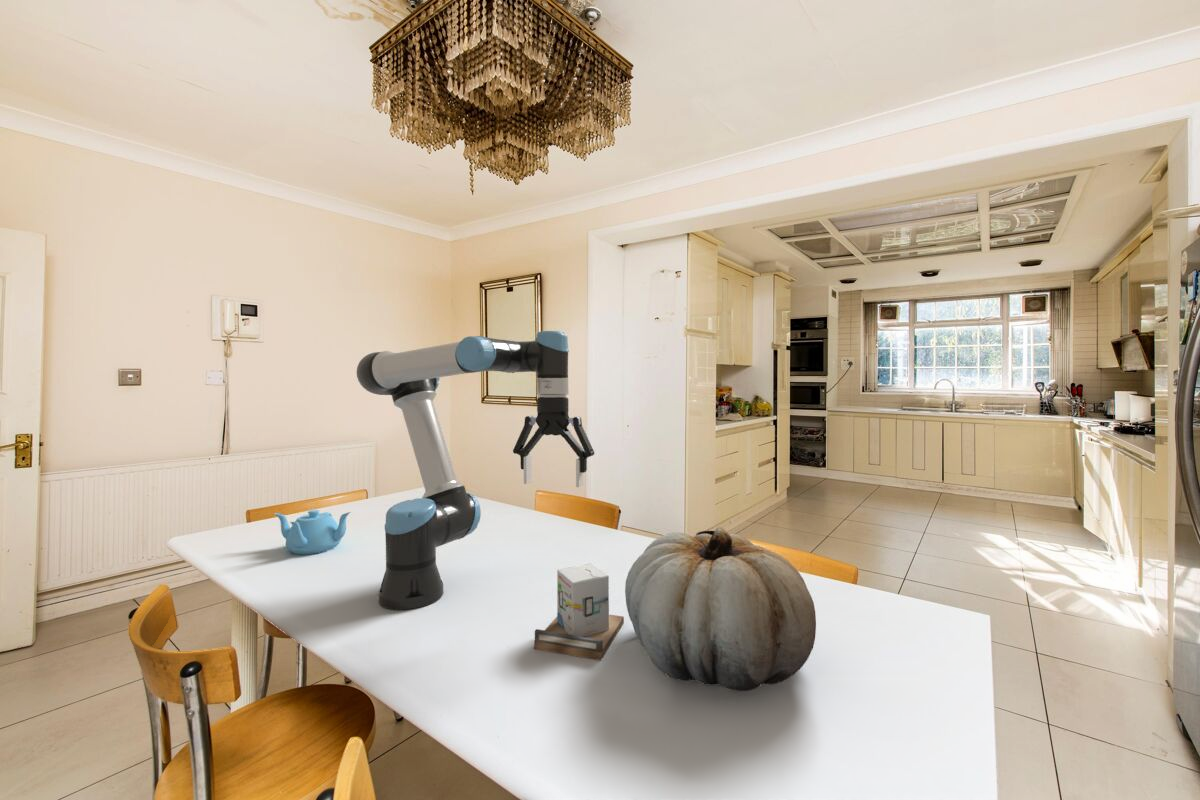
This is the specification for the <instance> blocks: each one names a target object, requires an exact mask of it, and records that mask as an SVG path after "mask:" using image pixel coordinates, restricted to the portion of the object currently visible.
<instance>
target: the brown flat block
mask: <svg viewBox="0 0 1200 800" xmlns="http://www.w3.org/2000/svg"><path fill="white" fill-rule="evenodd" d="M624 619H625V616H623V615H615V614H610V613H609V630H607V631H603V632H599V633H595V634H591V635H587V636H583V637H581V636H575V635H569V634H568V633H567V632H566V631H565V629H564V628H563V627H562V626H561V625H560V624H559V623H558V622H557V616H556V617H555V618H554V619H553V620H552V621H551V623H550V624H549V625H547V627H545V629H540V628H539V629H537V628H536V629H535V630H534V641H533V642H534V643H533V644H534V645H533V647H534V649H535V650H540V651H546V652H550V653H556V654H557V653H558V654H562V655H567V656H572V657H573V656H574V657H578V658H585V659H589V660H596V661H602V659H603V658H604V656H605V655H606V653H607V651H608V650H609V648H610V646H611V645H612V643H613V641H614V640H615V638H616V637H617V635H618V633H619V632H620V631H621V628H622V627H623V625H624V622H625V620H624Z"/></svg>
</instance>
